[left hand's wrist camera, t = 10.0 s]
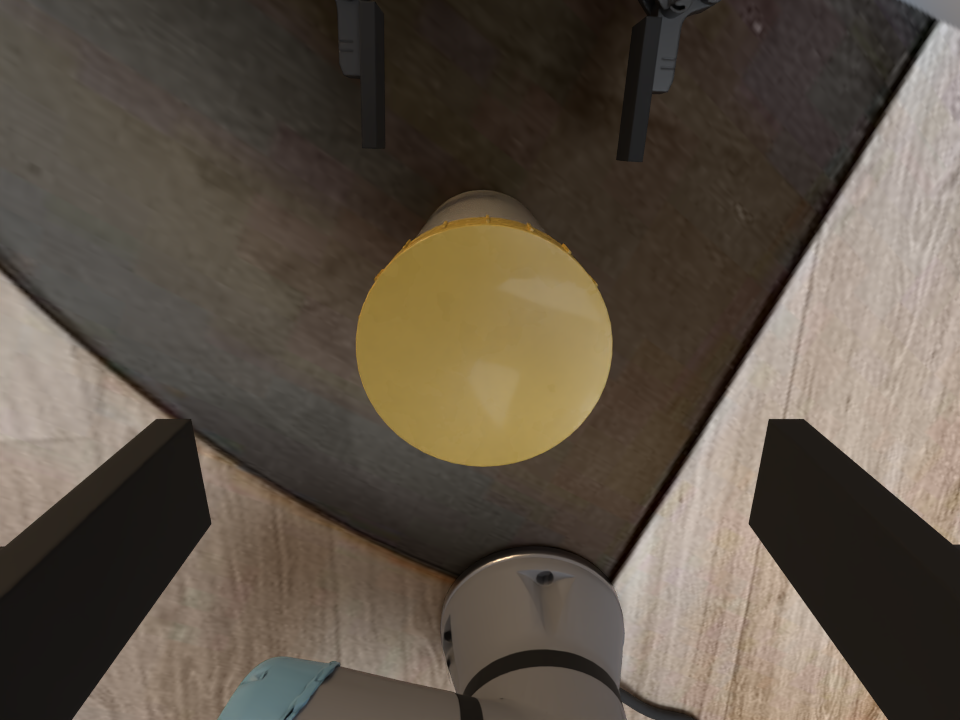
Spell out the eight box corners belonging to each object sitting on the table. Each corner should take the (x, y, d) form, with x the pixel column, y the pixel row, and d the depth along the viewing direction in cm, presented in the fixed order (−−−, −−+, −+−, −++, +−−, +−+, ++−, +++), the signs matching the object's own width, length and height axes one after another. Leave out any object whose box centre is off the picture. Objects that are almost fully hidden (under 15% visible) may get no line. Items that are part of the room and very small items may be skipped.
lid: (424, 470, 24) (419, 500, 22) (322, 272, 21) (306, 285, 19) (631, 395, 23) (645, 419, 21) (554, 174, 20) (562, 177, 18)
